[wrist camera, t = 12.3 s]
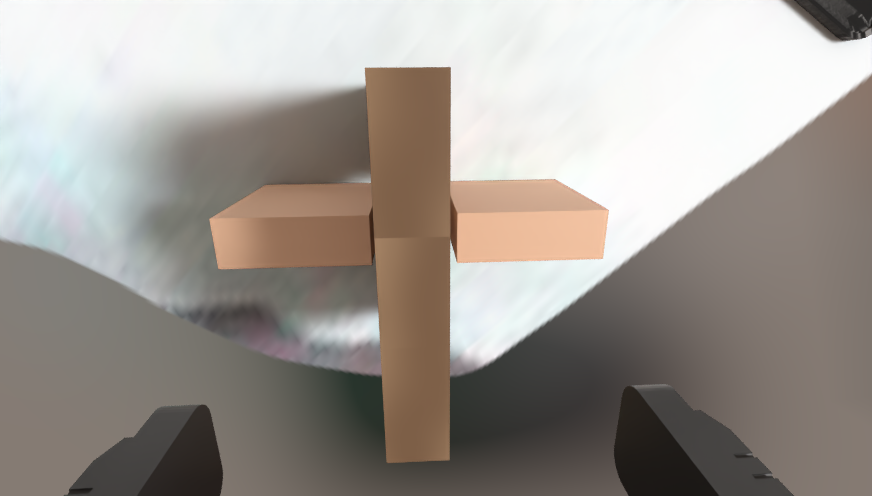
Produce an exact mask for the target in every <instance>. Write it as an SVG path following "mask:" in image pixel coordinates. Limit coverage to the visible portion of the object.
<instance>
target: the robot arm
mask: <svg viewBox="0 0 872 496" xmlns="http://www.w3.org/2000/svg"><path fill="white" fill-rule="evenodd" d="M614 458H615V465H616V469H617V473H618V475H619V478H620V481H621V483H622V485H623V486H624V488H625V490H626V492H627V494H628V496H794V495H793V494H792V493H791V492H790V491H789V490H788V489H787V488H786V487H785V486H784V485H783V484H782V483H781V482H780V481H779V480H778V479H776V478H775V479H774V478H773V477H772V473H771V471H769V469H768V468H767V467H766V466H765V465H764V464H763V463H762V462H761V461H760V460H759V459H758V458H754V457H753V455H752V452H751V451H750V450H749V449H748V448H747V447H746V446H745V445H744V444H743V442H741V440H740V439H739V438H738V437H737V436H736V435H735V434H734V433H733V432H732V431H731V430H730V429H729V428H727V427H725V426H724V425H723V424H721V423H719V422H718V421H716V420H715V419H713V418H712V417H710V416H708V415H707V414H706V413H704V412H702V411H701V410H695V411H693V409H692V408H691V407H690V406H689V405H688V404H687V403H686V402H685V401H684V400H683V399H682V397H680V395H679V394H678V393H677V392H676V391H675V390H674V389H673V388H672V387H671V386H669V385H667V384H658V385H639V386H638V385H637V386H627V387H626V388H625V389H624V392H623V395H622V400H621V407H620V413H619V420H618V426H617V433H616V439H615V445H614ZM222 481H223V470H222V464H221V459H220V454H219V450H218V445H217V441H216V436H215V431H214V427H213V422H212V417H211V413H210V410H209V408H208V407H207V406H206V405H186V406H185V405H184V406H164V407H160V408H158V409H157V410H156V411H155V412H154V413H153V414H152V415H151V416H150V418H149V419H148V420H147V421H146V423H145V424H144V425H143V427H142V428H141V429H140V430H139V431H138V433H137V434H136V435H135V436H134V437H133V438H132V437H131V438H124V439H123V440H121V441H120V442H119V443H117V444H116V445H114V446H113V447H112V448H110V449H109V450H108V451H106V452H105V453H104V454H102V455H101V456H100V457H98V458H97V459H96V460H94V461H93V462H92V463H91V464H90V466H89V467H88V468H87V469H86V470H85V471H84V473H83V474H82V475H81V476H80V477H79V478H78V480H77V481H76V482H75V483H74V484H73V486H72V487H71V488H70V489H69V494H68V495H64V496H220V494H221V489H222Z"/></svg>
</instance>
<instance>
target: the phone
mask: <svg viewBox="0 0 872 496" xmlns="http://www.w3.org/2000/svg"><path fill="white" fill-rule="evenodd" d="M795 1H796V2H797V3H798V4H799V5H801V6H802V7H803V8H804V9H805V10H806V11H808V12H809V13H810V14H811V15H812V16H813V17H814V18H816V19H817V20H818V21H819V22H820V23H821V24H823V25H824V26H825V27H826V28H827V29H828V30H829V31H831V32H832V33H833V34H834V35H835V36H836V37H838V38H839V39H841V40H847V41H849V40H857V39H862V38H866V37H868V36H869V35H871V34H872V0H795Z"/></svg>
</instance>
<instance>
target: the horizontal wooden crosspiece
mask: <svg viewBox="0 0 872 496" xmlns="http://www.w3.org/2000/svg"><path fill="white" fill-rule="evenodd" d="M608 212H609V210H608V209H606V208H604V207H603V206H601V205H599V204H597V203H596V202H594V201H592V200H590V199H589V198H587V197H585V196H583V195H582V194H580V193H578V192H576V191H575V190H573V189H571V188H569V187H568V186H566V185H564V184H562V183H560V182H559V181H557V180H555V179H550V180H496V181H450V239H451V243H452V246H453V250H454V253H455V257H456V260H457V263H468V262H505V261H541V260H578V259H603V253H604V245H605V237H606V228H607V220H608ZM209 220H210V225H211V231H212V236H213V242H214V247H215V253H216V258H217V264H218V269H250V268H286V267H322V266H359V265H372V262H373V258H374V254H375V240H374V222H373V204H372V186H371V183H332V184H278V185H264V186H263V187H261V188H259V189H258V190H256V191H254V192H253V193H251V194H249V195H248V196H246V197H244V198H243V199H241V200H240V201H238V202H236V203H235V204H233V205H231V206H230V207H228V208H226V209H225V210H223V211H221V212H220V213H218V214H216V215H215V216H213V217H211V218H210V219H209Z"/></svg>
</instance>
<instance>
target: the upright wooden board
mask: <svg viewBox="0 0 872 496" xmlns="http://www.w3.org/2000/svg"><path fill="white" fill-rule="evenodd" d="M365 78H366V96H367V114H368V132H369V150H370V168H371V186H372V204H373V222H374V240H375V259H376V277H377V295H378V313H379V331H380V349H381V367H382V385H383V402H384V421H385V439H386V457H387V463H397V462H416V461H417V462H418V461H439V460H449V452H450V451H449V449H450V444H449V443H450V442H449V440H450V439H449V438H450V436H449V435H450V434H449V433H450V412H449V411H450V111H451V67H424V68H365Z"/></svg>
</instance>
